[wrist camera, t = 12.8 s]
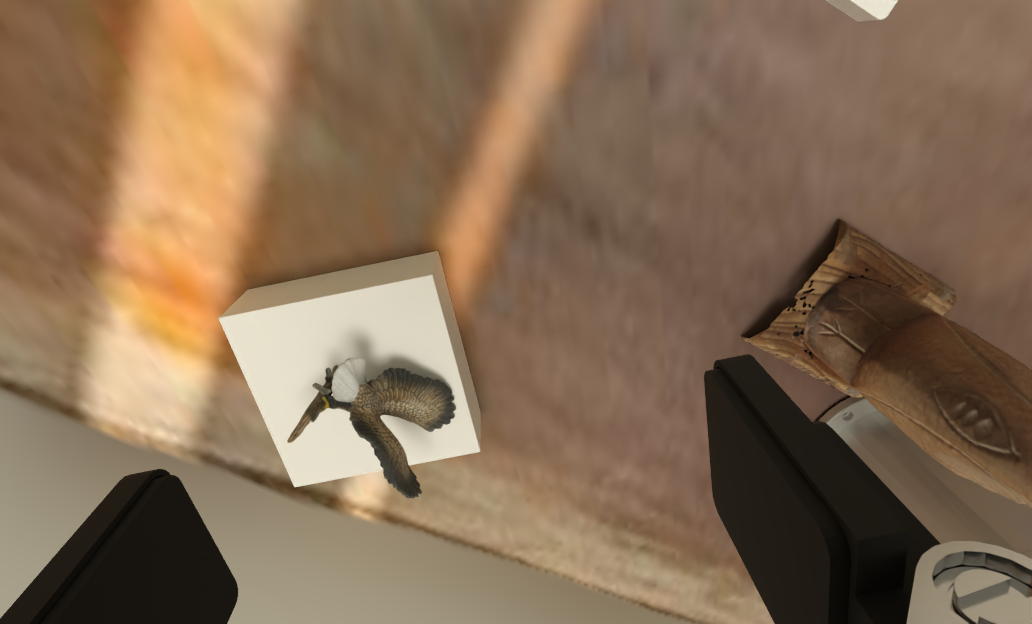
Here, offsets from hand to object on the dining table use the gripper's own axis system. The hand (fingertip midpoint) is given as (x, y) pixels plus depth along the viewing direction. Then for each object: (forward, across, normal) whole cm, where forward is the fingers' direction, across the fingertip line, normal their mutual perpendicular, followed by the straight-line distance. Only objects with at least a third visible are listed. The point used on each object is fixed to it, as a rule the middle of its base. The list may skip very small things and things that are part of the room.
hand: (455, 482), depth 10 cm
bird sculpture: (+32, -25, +16) cm, 43 cm away
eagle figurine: (+26, +9, +13) cm, 31 cm away
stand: (+31, +11, +12) cm, 35 cm away
